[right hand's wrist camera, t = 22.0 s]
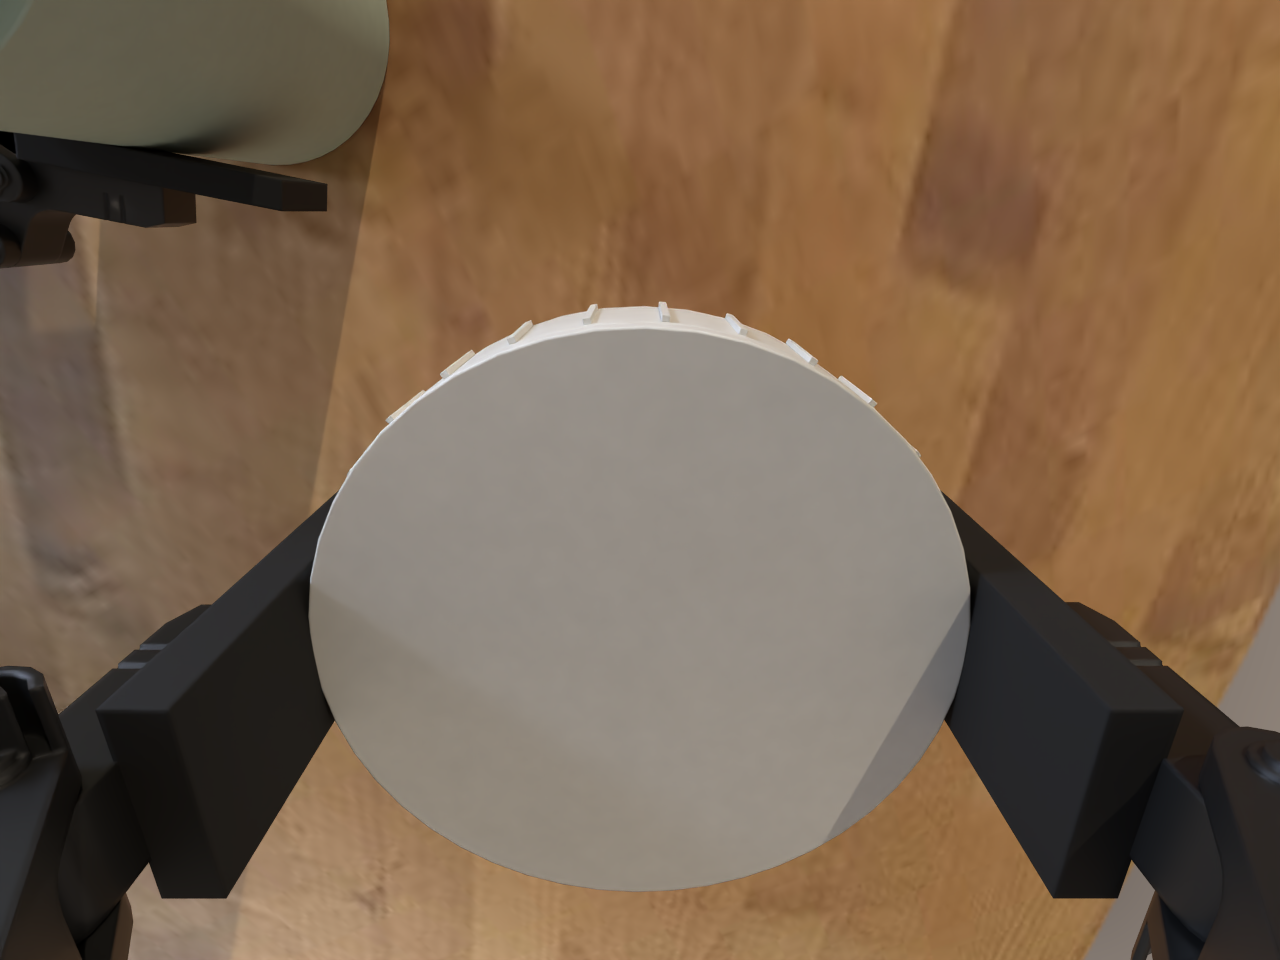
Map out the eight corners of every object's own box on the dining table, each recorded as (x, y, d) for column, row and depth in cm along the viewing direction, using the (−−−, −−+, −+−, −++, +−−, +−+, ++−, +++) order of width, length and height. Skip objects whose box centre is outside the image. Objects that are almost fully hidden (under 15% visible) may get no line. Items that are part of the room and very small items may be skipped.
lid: (634, 871, 15) (634, 974, 13) (245, 579, 12) (167, 650, 10) (1030, 592, 12) (1107, 666, 10) (647, 151, 10) (648, 133, 8)
